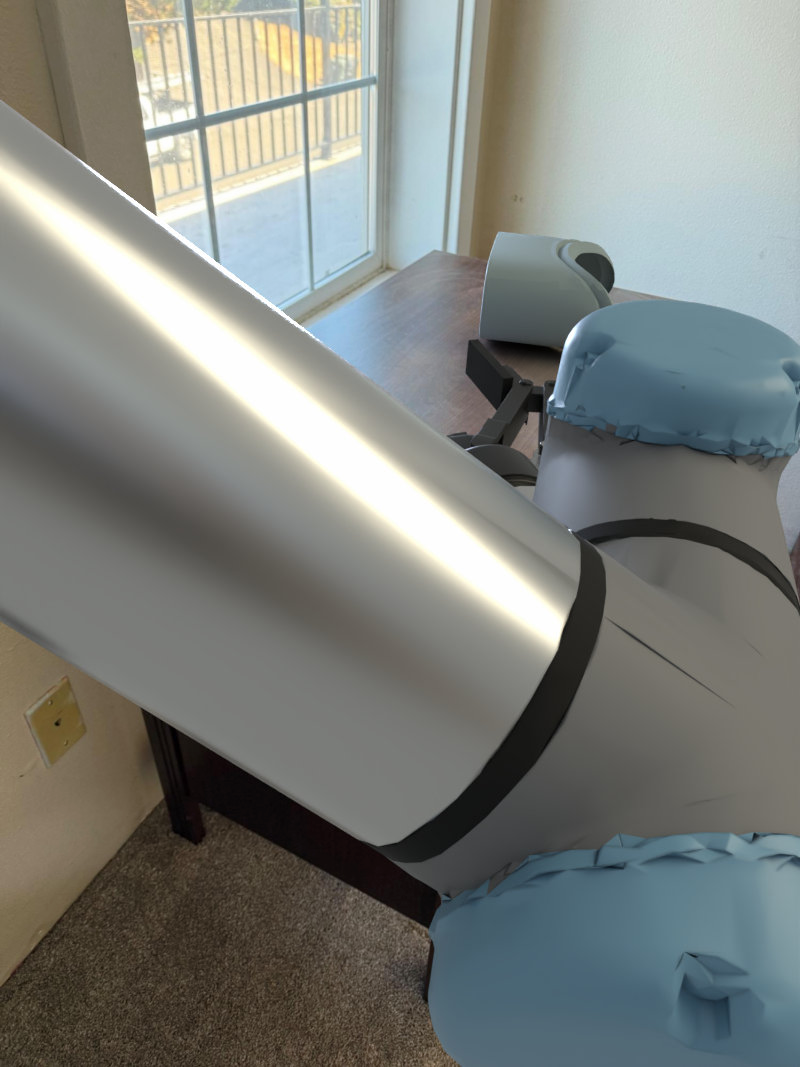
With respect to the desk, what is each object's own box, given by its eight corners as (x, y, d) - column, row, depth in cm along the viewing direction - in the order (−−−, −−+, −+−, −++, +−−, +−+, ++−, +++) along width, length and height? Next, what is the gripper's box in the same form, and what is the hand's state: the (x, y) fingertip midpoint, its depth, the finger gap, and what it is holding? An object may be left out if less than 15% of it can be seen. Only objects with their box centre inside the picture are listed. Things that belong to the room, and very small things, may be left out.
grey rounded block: (491, 301, 125) (500, 221, 117) (606, 313, 123) (624, 232, 115) (476, 355, 108) (485, 266, 100) (609, 371, 106) (629, 281, 98)
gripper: (270, 636, 38) (220, 431, 54) (684, 554, 45) (532, 392, 60) (257, 520, 34) (206, 332, 49) (722, 447, 40) (546, 302, 56)
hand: (385, 365), depth 55 cm, fingers open, 13 cm apart
